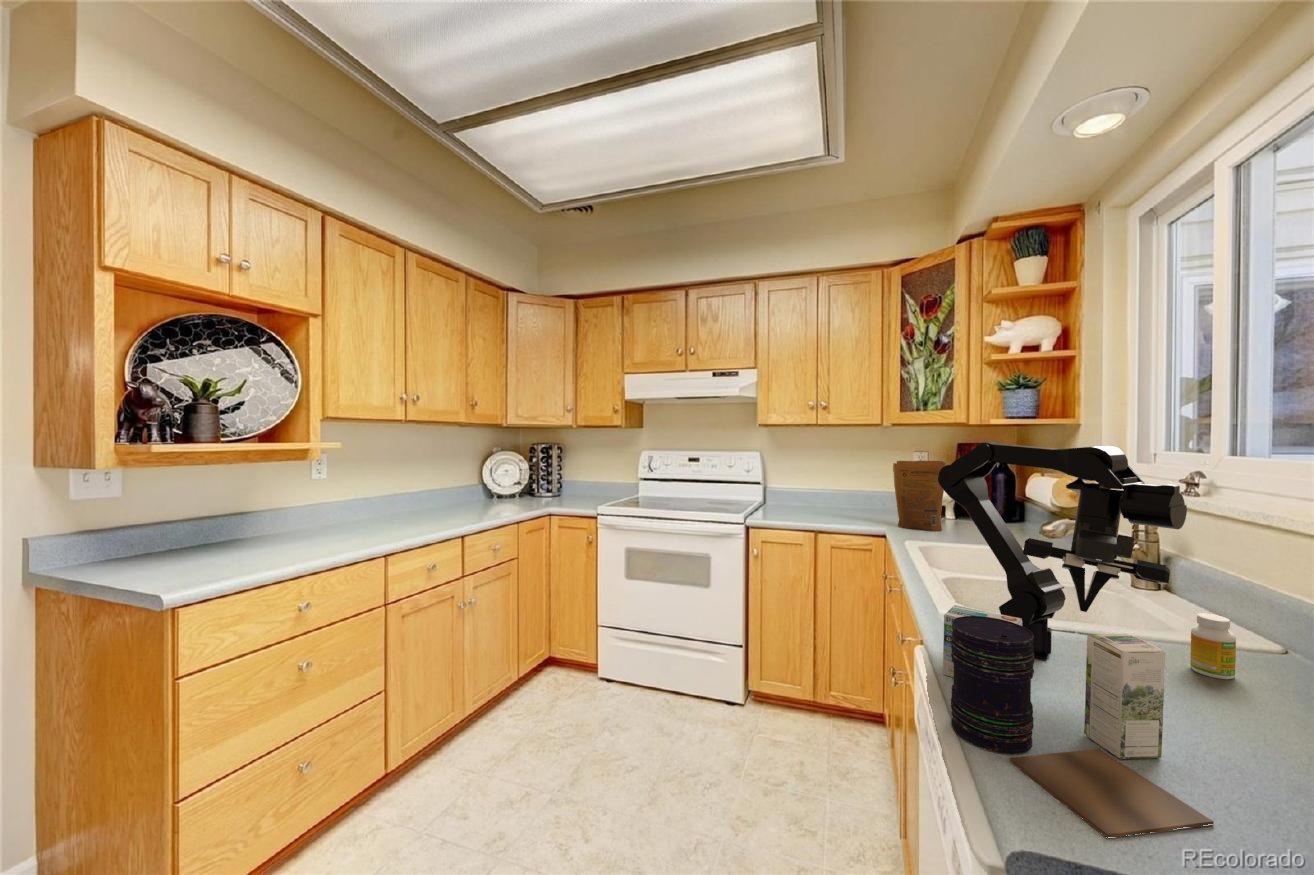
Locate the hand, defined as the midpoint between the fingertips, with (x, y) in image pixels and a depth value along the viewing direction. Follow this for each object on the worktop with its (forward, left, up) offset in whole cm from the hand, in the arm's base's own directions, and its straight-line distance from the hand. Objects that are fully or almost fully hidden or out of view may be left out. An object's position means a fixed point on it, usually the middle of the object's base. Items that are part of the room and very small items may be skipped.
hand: (1083, 611), depth 89 cm
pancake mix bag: (-50, +122, -12) cm, 132 cm away
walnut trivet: (+1, -32, -12) cm, 34 cm away
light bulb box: (-14, -8, -12) cm, 20 cm away
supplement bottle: (+18, +18, -12) cm, 28 cm away
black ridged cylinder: (-11, -26, -12) cm, 31 cm away
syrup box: (+4, -19, -12) cm, 23 cm away
